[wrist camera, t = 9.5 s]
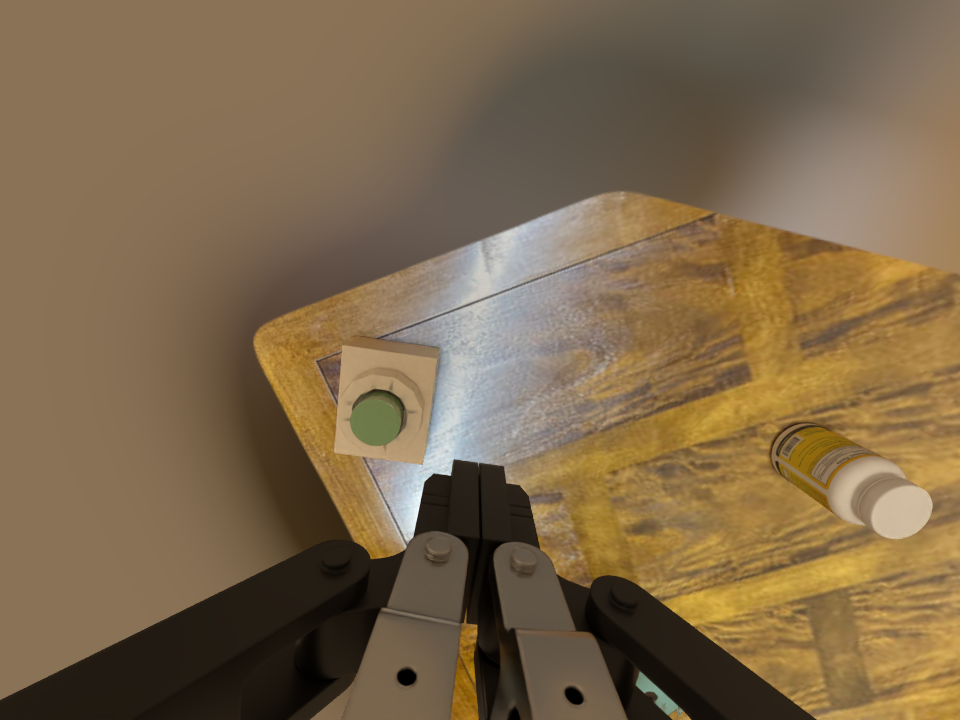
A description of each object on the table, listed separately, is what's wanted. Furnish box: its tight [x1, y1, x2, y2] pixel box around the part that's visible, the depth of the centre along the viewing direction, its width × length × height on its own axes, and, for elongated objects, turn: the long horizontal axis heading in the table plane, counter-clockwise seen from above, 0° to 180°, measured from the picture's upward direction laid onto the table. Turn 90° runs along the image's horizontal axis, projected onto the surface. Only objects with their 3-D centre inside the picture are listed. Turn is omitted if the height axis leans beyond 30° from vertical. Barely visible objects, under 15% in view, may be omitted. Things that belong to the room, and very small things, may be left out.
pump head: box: [350, 391, 404, 446], centre depth 36 cm, size 4×4×2 cm
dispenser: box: [334, 336, 440, 465], centre depth 39 cm, size 10×8×6 cm
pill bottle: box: [771, 423, 932, 539], centre depth 39 cm, size 6×6×11 cm
